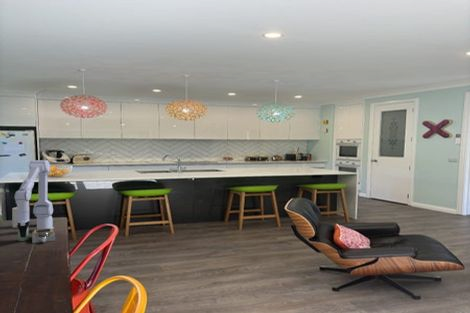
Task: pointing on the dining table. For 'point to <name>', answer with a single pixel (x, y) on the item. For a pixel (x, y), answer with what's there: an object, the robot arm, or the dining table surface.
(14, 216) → the supplement box
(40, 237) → the gearbox
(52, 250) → the dining table surface
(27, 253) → the dining table surface
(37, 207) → the robot arm
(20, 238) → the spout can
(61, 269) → the dining table surface
